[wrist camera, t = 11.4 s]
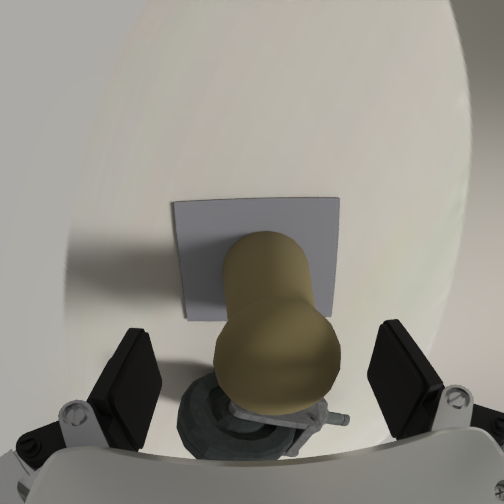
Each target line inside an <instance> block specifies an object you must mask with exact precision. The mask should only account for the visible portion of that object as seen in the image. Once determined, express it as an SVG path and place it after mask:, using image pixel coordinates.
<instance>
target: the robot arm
mask: <svg viewBox="0 0 504 504" xmlns="http://www.w3.org/2000/svg"><path fill="white" fill-rule="evenodd" d="M367 378H368V381H369V383H370V385H371V388H372V390H373V392H374V395H375V397H376V399H377V402H378V404H379V406H380V409H381V411H382V414H383V416H384V418H385V421H386V423H387V426H388V428H389V431H390V433H391V435H392V437H393V438H396V440H397V441H394V442H390V443H386V444H382V445H377V446H373V447H369V448H364V449H359V450H354V451H349V452H343V453H337V454H330V455H323V456H316V457H307V458H297V459H285V460H268V461H217V460H199V459H187V458H177V457H169V456H161V455H153V454H146V453H140V452H138V450H139V449H142V448H143V446H144V443H145V439H146V436H147V433H148V429H149V426H150V423H151V419H152V416H153V413H154V410H155V407H156V403H157V400H158V397H159V394H160V391H161V388H162V378H161V375H160V372H159V369H158V365H157V362H156V358H155V355H154V351H153V348H152V344H151V341H150V337H149V334H148V333H147V332H145V331H144V329H141V328H129V329H128V331H127V332H126V334H125V336H124V337H123V339H122V341H121V343H120V344H119V346H118V348H117V349H116V351H115V353H114V355H113V356H112V358H110V360H109V361H108V363H107V364H106V366H105V368H104V370H103V372H102V373H101V375H100V377H99V379H98V381H97V382H96V384H95V386H94V388H93V390H92V392H91V393H90V395H89V397H88V399H87V401H86V402H85V401H82V400H74V401H70V402H68V403H66V404H65V405H64V406H63V407H62V408H61V410H60V411H59V415H58V417H59V421H56V422H53V423H51V424H49V425H46V426H43V427H41V428H38V429H35V430H33V431H30V432H27V433H25V434H23V435H22V436H21V437H20V438H19V439H18V441H17V443H16V450H15V451H12V449H11V450H10V451H8V452H7V453H5V454H4V455H3V456H1V457H0V504H504V413H502V412H499V411H495V410H492V409H489V408H485V407H483V406H479V405H476V404H473V401H474V400H473V396H472V393H471V392H470V391H469V390H468V389H467V388H465V387H463V386H461V385H450V386H447V387H446V388H445V386H444V385H443V382H442V380H441V379H440V377H439V376H438V374H437V373H436V371H435V370H434V368H433V367H432V366H431V364H430V362H429V361H428V360H427V358H426V357H425V355H424V354H423V352H422V351H421V350H420V348H419V347H418V345H417V344H416V343H415V341H414V340H413V338H412V337H411V336H410V334H409V333H408V332H407V330H406V329H405V328H404V326H403V325H402V324H401V322H400V321H399V320H398V319H393V320H386V321H384V322H383V324H381V325H380V327H379V330H378V334H377V338H376V342H375V346H374V350H373V354H372V357H371V361H370V364H369V368H368V371H367Z"/></svg>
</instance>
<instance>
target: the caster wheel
mask: <svg viewBox="0 0 504 504" xmlns="http://www.w3.org/2000/svg"><path fill="white" fill-rule="evenodd" d="M327 406H328V403H327V402H326V400H325V399H324V397H323V398H322V399H321V400H320V401H318V402H317V403H315V404H313V405H312V406H310V407H308V408H306V409H304V410H301V411H298V412H295V413H292V414H284V415H276V416H275V415H262V414H257V413H254V412H251V411H247V410H245V409H243V408H241V407H240V406H238V405H237V404H235V403H233V401H232V400H231V399H230V398H229V397H228V396H227V394H226V393H225V392H224V391H223V389H222V388H221V387H220V386H219V383H218V380H217V377H216V373H210V374H208V375H206V376H204V377H202V378H199V379H197V380H195V381H194V382H193V383H192V384H191V385H190V386H189V388H188V389H187V390H186V392H185V393H184V394H183V396H182V399H181V403H180V406H179V410H178V418H177V430H178V433H179V435H180V438H181V440H182V442H183V445H184V447H185V448H186V449H187V450H188V451H189V452H190V453H191V454H192V455H193V456H194V457H195V458H196V459H199V460H217V461H268V460H278V459H279V458H280V457H281V456H289V457H296V456H297V455H298V454H299V449H300V448H301V447H302V446H303V445H304V444H305V443H306V442H307V440H308V439H309V438H310V437H311V436H312V435H313V434H314V433H316V432H318V431H320V430H321V428H322V426H323V425H324V424H325V423H327V424H333V425H341V426H346V425H348V423H349V421H350V417H349V415H345V414H343V415H342V414H340V413H334V412H329V411H328V410H327Z"/></svg>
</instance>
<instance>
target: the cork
mask: <svg viewBox="0 0 504 504" xmlns="http://www.w3.org/2000/svg"><path fill="white" fill-rule="evenodd" d="M222 275H223V284H224V293H225V302H226V311H227V319H228V322H227V323H226V325H225V326H224V328H223V330H222V331H221V333H220V335H219V336H218V338H217V341H216V346H215V353H214V360H213V365H214V369H215V373H216V377H217V380H218V383H219V386H220V387H221V388H222V389H223V391H224V392H225V393H226V394H227V396H228V397H229V398H230V399H231V400H232V401H233V403H235V404H237V405H238V406H240V407H241V408H243V409H245V410H247V411H251V412H254V413H257V414H262V415H275V416H276V415H284V414H292V413H295V412H298V411H301V410H304V409H306V408H308V407H310V406H312V405H313V404H315V403H317V402H318V401H320V400H321V399H322V398H323V397H324V396H325V395H326V394H327V393H328V392H329V391H330V390H331V388H332V385H333V383H334V381H335V379H336V377H337V375H338V373H339V371H340V361H341V348H340V344H339V341H338V339H337V336H336V334H335V331H334V329H333V327H332V325H331V323H330V322H329V321H328V320H327V319H326V318H325V317H324V316H323V315H322V314H321V313H320V312H318V311H317V310H316V309H315V303H314V296H313V290H312V283H311V277H310V271H309V265H308V260H307V258H306V256H305V253H304V251H303V249H302V248H301V247H300V246H299V245H298V244H297V243H296V242H295V241H294V240H293V239H292V238H290V237H288V236H286V235H284V234H282V233H278V232H272V231H261V232H254V233H251V234H249V235H247V236H245V237H243V238H241V239H240V240H238V241H237V242H236V243H235V244H234V245H233V246H232V247H231V248H230V250H229V252H228V254H227V255H226V257H225V259H224V264H223V271H222Z"/></svg>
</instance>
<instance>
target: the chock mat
mask: <svg viewBox="0 0 504 504" xmlns="http://www.w3.org/2000/svg"><path fill="white" fill-rule="evenodd" d="M339 208H340V198H319V197H299V198H244V199H218V200H197V201H180V202H174V210H175V222H176V232H177V242H178V252H179V261H180V269H181V277H182V285H183V292H184V300H185V306H186V313H187V320H188V321H228V319H227V311H226V302H225V293H224V284H223V275H222V271H223V264H224V259H225V257H226V255H227V254H228V252H229V250H230V248H231V247H232V246H233V245H234V244H235V243H236V242H237V241H238V240H240V239H241V238H243V237H245V236H247V235H249V234H251V233H254V232H261V231H272V232H278V233H282V234H284V235H286V236H288V237H290V238H292V239H293V240H294V241H295V242H296V243H297V244H298V245H299V246H300V247H301V248H302V249H303V251H304V253H305V256H306V258H307V260H308V265H309V271H310V277H311V283H312V290H313V296H314V303H315V309H316V310H317V311H318V312H320V313H321V314H322V315H323V316H324V317H331V315H332V306H333V296H334V286H335V275H336V263H337V249H338V231H339Z"/></svg>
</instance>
